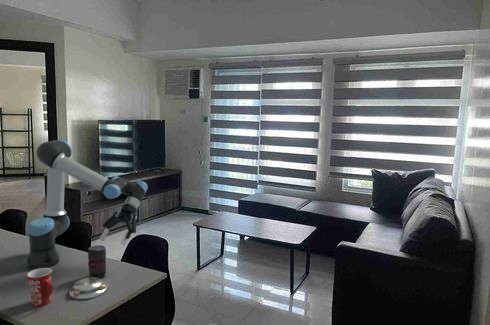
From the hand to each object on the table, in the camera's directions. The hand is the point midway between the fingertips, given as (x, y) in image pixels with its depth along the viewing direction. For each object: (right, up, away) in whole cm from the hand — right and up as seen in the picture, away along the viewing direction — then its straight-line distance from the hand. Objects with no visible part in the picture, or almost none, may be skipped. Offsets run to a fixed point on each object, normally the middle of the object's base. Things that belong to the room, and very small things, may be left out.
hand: (111, 242), depth 184 cm
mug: (-17, -19, -32) cm, 41 cm away
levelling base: (-3, -18, -20) cm, 27 cm away
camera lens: (-4, -16, -6) cm, 18 cm away
